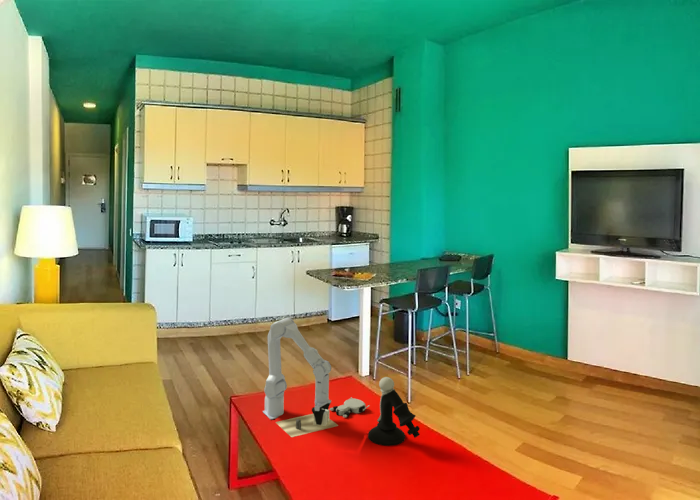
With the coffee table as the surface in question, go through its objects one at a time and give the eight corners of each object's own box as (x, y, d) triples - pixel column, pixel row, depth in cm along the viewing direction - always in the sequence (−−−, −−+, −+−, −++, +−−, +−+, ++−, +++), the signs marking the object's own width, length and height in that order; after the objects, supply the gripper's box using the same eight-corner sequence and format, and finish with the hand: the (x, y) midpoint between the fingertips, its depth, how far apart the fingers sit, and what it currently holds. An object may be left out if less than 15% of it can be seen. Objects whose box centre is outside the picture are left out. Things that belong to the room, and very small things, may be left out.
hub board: (275, 424, 224) (275, 414, 223) (320, 414, 235) (320, 404, 235) (291, 439, 210) (291, 428, 210) (338, 427, 222) (338, 417, 221)
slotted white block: (313, 424, 222) (313, 413, 222) (317, 419, 227) (317, 408, 227) (325, 426, 221) (325, 414, 220) (329, 420, 226) (329, 409, 226)
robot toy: (345, 424, 228) (370, 412, 238) (345, 414, 227) (370, 403, 237) (328, 414, 237) (353, 404, 247) (327, 405, 237) (352, 395, 246)
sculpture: (384, 425, 225) (386, 369, 222) (429, 444, 209) (432, 383, 206) (360, 436, 214) (361, 377, 211) (406, 457, 198) (408, 393, 195)
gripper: (326, 397, 215) (325, 429, 216) (335, 385, 229) (334, 414, 230) (309, 395, 216) (309, 426, 218) (319, 383, 230) (319, 413, 232)
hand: (321, 420), depth 224 cm, fingers open, 7 cm apart
